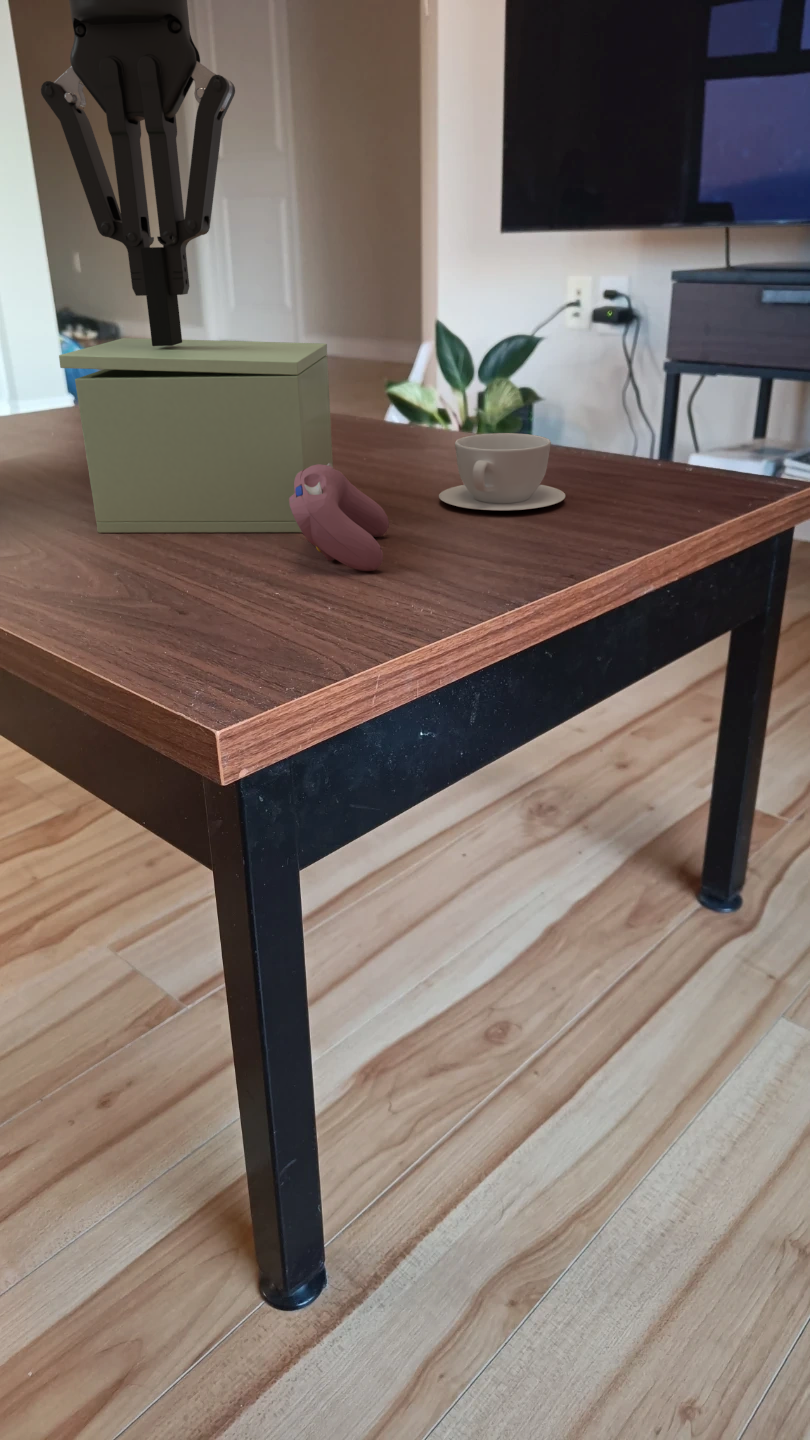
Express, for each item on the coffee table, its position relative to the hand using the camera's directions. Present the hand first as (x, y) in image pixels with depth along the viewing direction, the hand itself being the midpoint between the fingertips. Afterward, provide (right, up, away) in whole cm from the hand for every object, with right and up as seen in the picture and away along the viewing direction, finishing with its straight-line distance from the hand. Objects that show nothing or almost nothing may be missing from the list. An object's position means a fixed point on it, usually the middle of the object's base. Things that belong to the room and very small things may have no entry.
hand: (167, 343), depth 76 cm
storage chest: (+3, -11, +5) cm, 13 cm away
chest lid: (+3, -1, 0) cm, 3 cm away
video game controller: (+13, -17, -7) cm, 23 cm away
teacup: (+25, -11, +6) cm, 28 cm away
